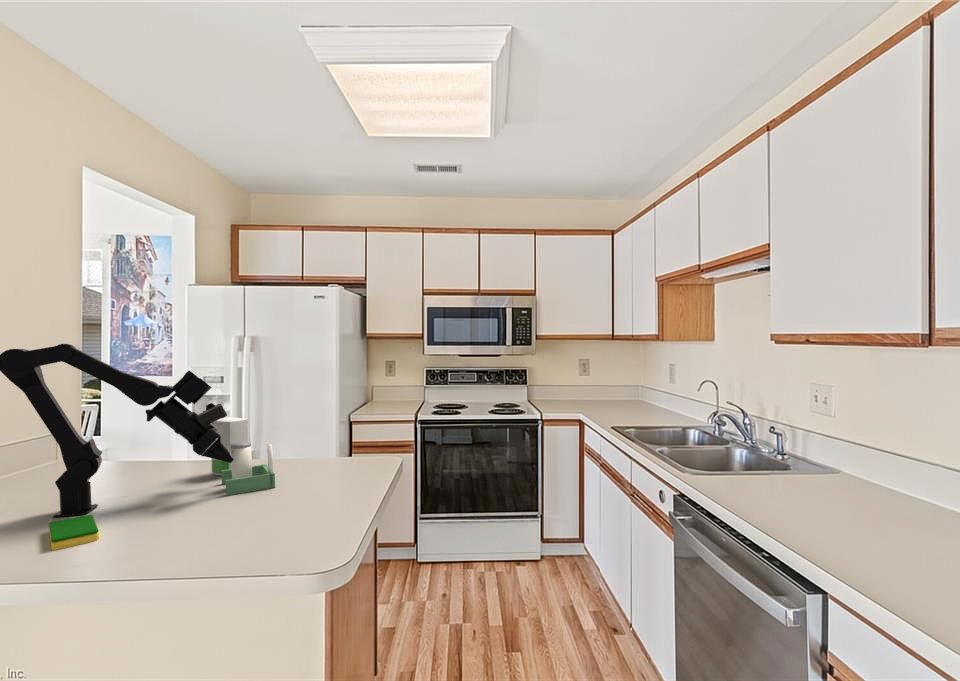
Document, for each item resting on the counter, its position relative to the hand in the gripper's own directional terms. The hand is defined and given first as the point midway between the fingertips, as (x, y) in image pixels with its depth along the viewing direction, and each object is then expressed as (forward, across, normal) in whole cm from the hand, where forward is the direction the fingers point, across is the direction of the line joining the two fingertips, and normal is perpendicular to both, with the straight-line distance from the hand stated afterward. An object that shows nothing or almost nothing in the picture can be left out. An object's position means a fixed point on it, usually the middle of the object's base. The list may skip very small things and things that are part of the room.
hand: (230, 458), depth 140 cm
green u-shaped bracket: (+8, 0, +3) cm, 9 cm away
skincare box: (+7, +18, +4) cm, 20 cm away
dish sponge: (-15, -19, +28) cm, 37 cm away
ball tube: (+7, 0, +4) cm, 8 cm away
